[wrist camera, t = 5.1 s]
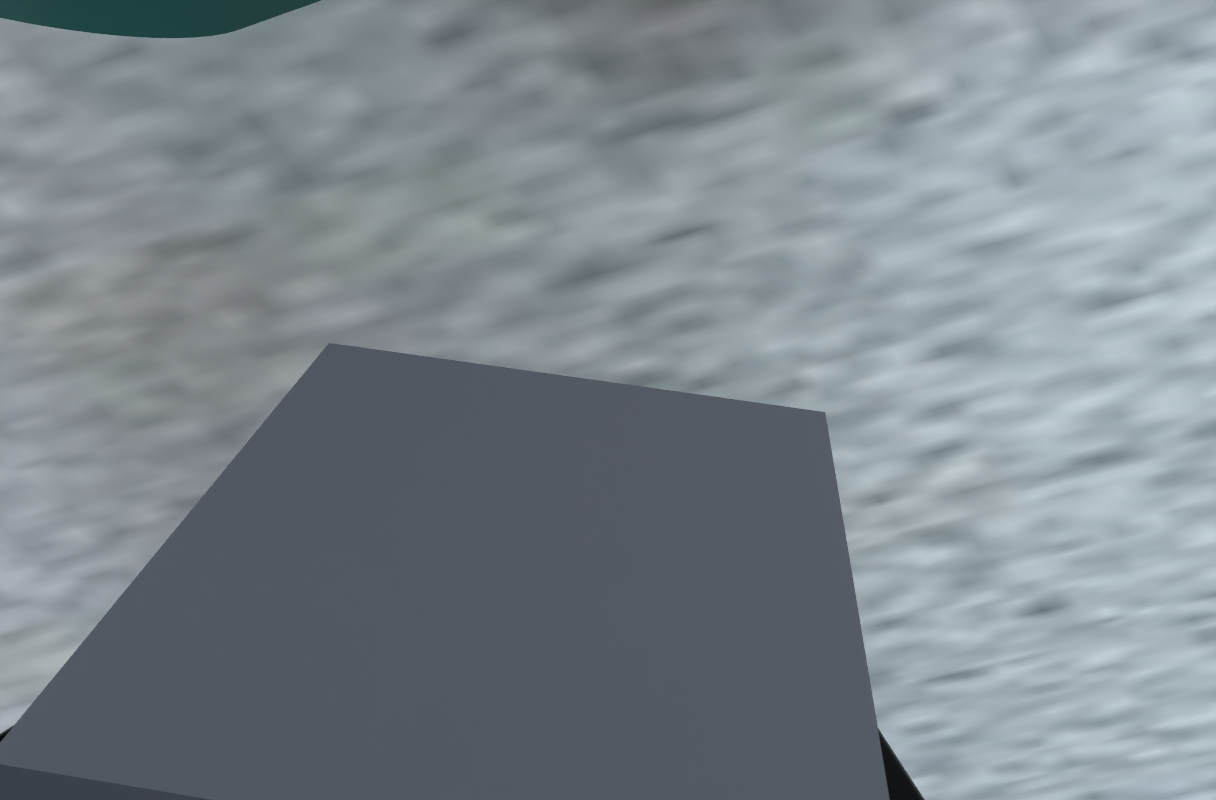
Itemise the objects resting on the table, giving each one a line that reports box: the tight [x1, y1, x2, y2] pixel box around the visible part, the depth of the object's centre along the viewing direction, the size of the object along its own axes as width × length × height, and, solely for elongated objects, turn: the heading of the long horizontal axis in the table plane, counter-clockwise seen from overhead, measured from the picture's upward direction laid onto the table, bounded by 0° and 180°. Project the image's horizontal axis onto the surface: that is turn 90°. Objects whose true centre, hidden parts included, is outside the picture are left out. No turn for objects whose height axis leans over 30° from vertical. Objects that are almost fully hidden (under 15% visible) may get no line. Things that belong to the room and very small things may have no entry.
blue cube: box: [0, 343, 890, 800], centre depth 8 cm, size 5×5×5 cm
